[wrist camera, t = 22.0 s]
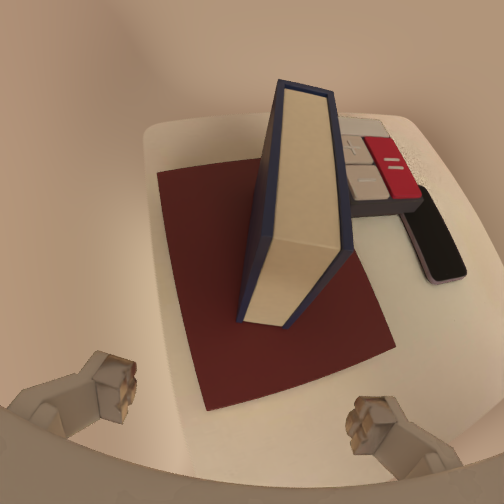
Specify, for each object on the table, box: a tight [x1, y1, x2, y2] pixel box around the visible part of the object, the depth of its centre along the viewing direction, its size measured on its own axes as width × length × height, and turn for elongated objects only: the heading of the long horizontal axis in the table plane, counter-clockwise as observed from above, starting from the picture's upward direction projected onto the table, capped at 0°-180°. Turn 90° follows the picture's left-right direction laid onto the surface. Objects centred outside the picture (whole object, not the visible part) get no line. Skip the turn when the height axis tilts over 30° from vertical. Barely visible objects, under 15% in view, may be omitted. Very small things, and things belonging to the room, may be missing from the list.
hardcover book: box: [236, 79, 354, 329], centre depth 21 cm, size 4×13×12 cm, turn 174°
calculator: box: [338, 116, 424, 218], centre depth 37 cm, size 11×4×15 cm
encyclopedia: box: [157, 158, 396, 411], centre depth 28 cm, size 22×16×4 cm
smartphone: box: [400, 185, 467, 285], centre depth 36 cm, size 7×1×15 cm
